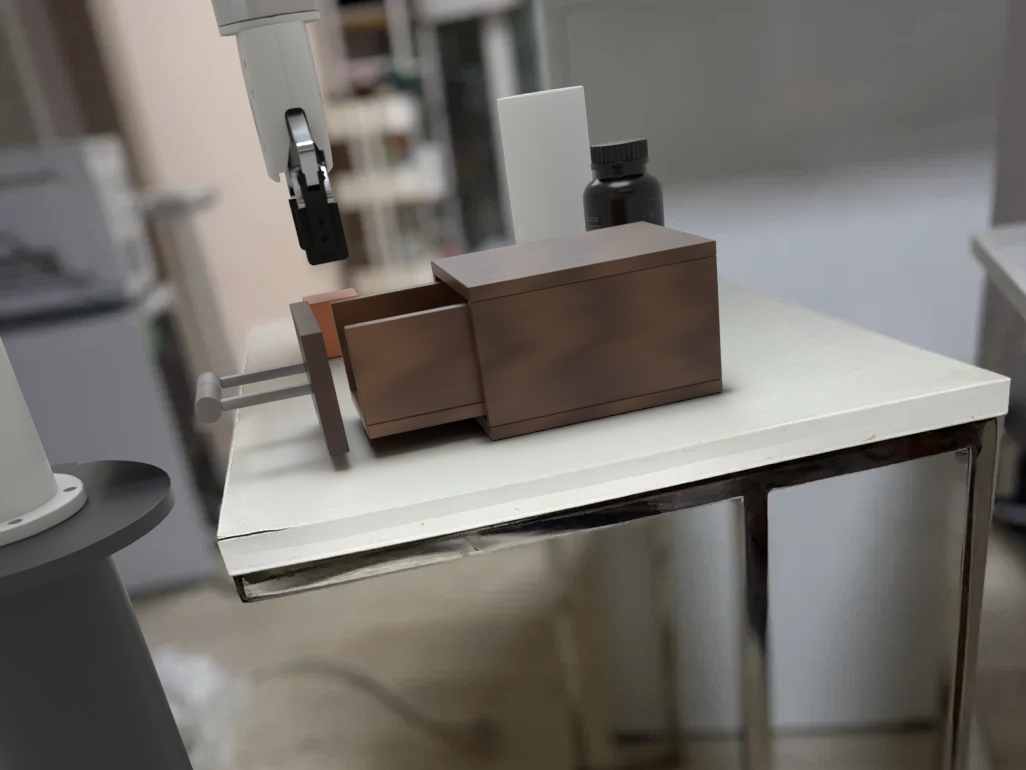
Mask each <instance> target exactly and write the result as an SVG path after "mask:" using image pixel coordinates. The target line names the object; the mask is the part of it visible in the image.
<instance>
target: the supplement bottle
mask: <svg viewBox="0 0 1026 770" xmlns="http://www.w3.org/2000/svg"><path fill="white" fill-rule="evenodd" d="M648 145H649V144H648V138H646V137H635V138H626V139H618V140H612V141H606V142H601V143H596V144H592V145H589V146H590V156H591V164H590V166H591V170H592V171H593V173H594V178H593V180H592V181H591V182H590V183H589V184H588V185H587V186H586V187H585V190H584V192H583V208H584V219H585V229H586V232H587V231H592V230H598V229H603V228H608V227H614V226H619V225H624V224H630V223H635V222H641V221H644V222H647V223H651V224H655V225H659V226H663V227H666V226H665V225H666V224H665V209H664V207H665V206H664V192H663V191H664V190H663V185H662V182H661V180H660V179H659V177H658V176H657V175H656V174H654V173H653V172H651V171H649V170H648V168H647V167H648V166H647V164H648V163H650V156H649V146H648Z"/></svg>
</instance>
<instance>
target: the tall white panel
mask: <svg viewBox="0 0 1026 770" xmlns="http://www.w3.org/2000/svg"><path fill="white" fill-rule="evenodd" d="M496 106H497V113H498V122H499V128H500V137H501V145H502V152H503V159H504V166H505V173H506V180H507V181H506V182H507V188H508V195H509V203H510V209H511V210H510V211H511V217H512V225H513V232H514V240H515V245H517V244H522V243H528V242H533V241H538V240H544V239H549V238H555V237H560V236H565V235H571V234H576V233H581V232H586V229H585V219H584V208H583V192H584V190H585V187H586V186H587V185H588V184H589V183H590V182H591V181H592V180H593V179H594V178H593V170H591V166H590V164H591V153H590V146H591V145H590V136H589V126H588V116H587V105H586V96H585V88H584V86H583V85H578V86H577V85H576V86H568V87H561V88H555V89H554V88H553V89H548V90H547V89H546V90H542V91H534V92H528V93H522V94H517V95H511V96H506V97H501V98H497V99H496Z"/></svg>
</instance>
